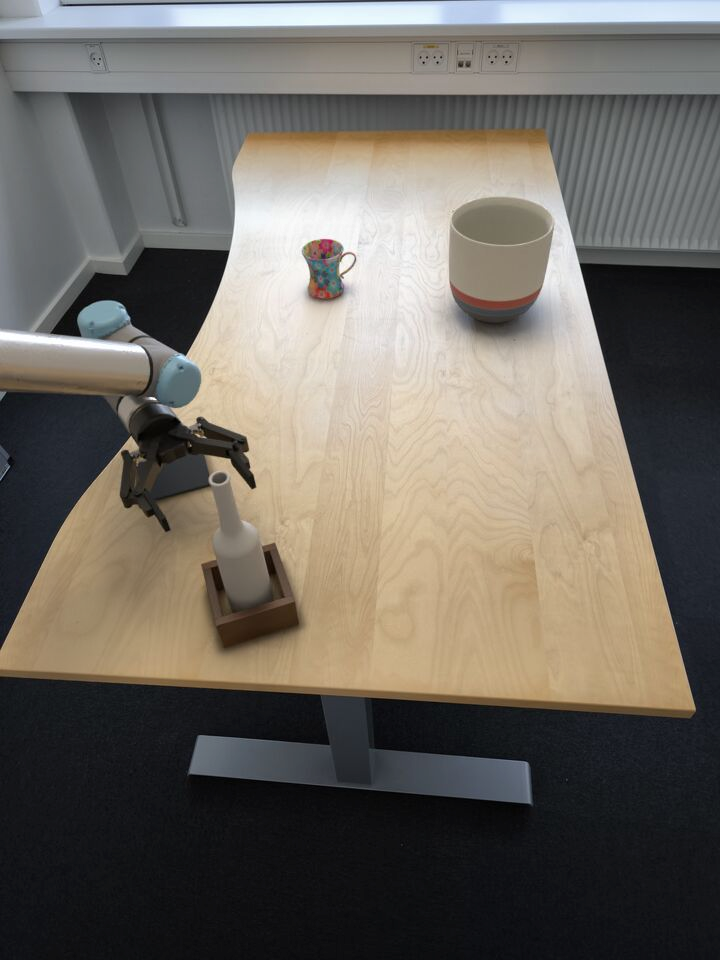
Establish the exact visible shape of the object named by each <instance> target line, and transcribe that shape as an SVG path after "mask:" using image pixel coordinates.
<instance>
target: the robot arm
mask: <svg viewBox="0 0 720 960" xmlns="http://www.w3.org/2000/svg"><path fill="white" fill-rule="evenodd" d="M77 326H78V328H79V329H78V330H79V332H80V335H81V336H74V335H65V334H54V333H46V332H37V331H30V330H29V331H28V330H22V329H21V330H19V329H12V328H3V327H0V393H23V394H25V393H26V394H53V395H55V394H56V395H80V396H102V398H103V399H104V400H105V401H106V402H107V403H108V404H109V406H110V407H111V409H112V410H113V411H114V413H115V415H116V416H117V417H118V419H119V420H120V422H121V423H122V425H123V426H124V428H125V429H126V430H127V432H128V434H129V435H130V436H131V438H132V439H133V441H134V442H135V444H136V446H137V447H138V449H136V450H133V451H131V452H130V451H129V450H128V449H123V450H122V451H120V456H121V458H122V460H123V464H122V472H121V481H120V487H119V498H120V500H121V502H122V505H123V507H124V508H125V509H131V508H132V507H133V506H135V505H137V506H138V508H139V510H141V511H142V513H143V514H144V516H145V517H147V518H148V519H150V518H151V517H153V516H154V517H155V518H156V520H157V522H158V524H160V526H161V528H162V529H163V531H164V533H168V532H171V527H170V525H169V521H168V519H167V517H166V515H165V514H164V512H163V510H162V509H161V508H160V506H159V504H158V503H157V502H156V500H154V499H153V497H152V496H151V494H150V491H151V489H152V487H153V484H154V482H155V479H156V477H157V474H158V473H160V471H161V469H162V466H163V464H166V463H167V464H170V463H172V462H173V461H175V460H176V459H179V458H183V457H185V456H186V454H191V455H198V454H203V455H204V456H210V457H216V458H222V459H228V460H230V464H231V466H232V467H233V468H234V469H235V471H236V472H237V473H238V474H239V476H240V477H241V478H242V479H243V481H244V482H245V483H246V484H247V486H248V487H249V488H250V490H254V489H256V488H257V484H256V480H255V479H256V478H255V474H254V473H253V472H252V470H251V463H250V459H249V457H248V456H247V455H246V453H248V452H249V451H250V447H249V442H248V437H247V436H246V435H244V434H241V433H238V432H235V431H232V430H230V429H228V428H224V427H223V426H219V425H217V424H214V423H212V422H209V421H208V420H207V419H206V418H205V417H204V416H198V417H196V418H195V420H196V423H194V424H192V425H190V426H188V425H185V424H184V423H183V422H182V421H181V419H180V418H179V417H178V415H176V412H174V411H173V409H180V408H183V407H186V406H187V405H189V404H190V403H191V402H192V401H193V400H194V399H195V398H196V397H197V395H198V393H199V391H200V387H201V384H202V373H201V369H200V368H199V366H198V365H197V364H196V363H195V362H193V361H192V360H191V359H189V358H188V357H187V356H186V355H184V354H183V353H181V352H178V351H176V350H174V349H173V348H171V347H169V346H167V345H165V344H164V343H162V342H161V341H158V340H156V339H155V338H153V337H152V336H150V335H149V334H147V333H145V332H144V331H142V330H140V329H138V328H136V327H135V326H134V325H132V322H131V317H130V316H129V314H128V311H127V309H126V307H125V306H124V305H123V304H122V303H120V302H118V301H116V300H100V301H96V302H93V303H91V304H89V305H88V306H86V307H83V309H82V310H81V311H80V312H79V313H78V316H77ZM198 435H199V436H198ZM140 459H143V460H144V461H146V463H145V465H144V468H143V470H142V472H141V475H140V477H138V478H137V466H138V463H139V462H140ZM136 478H137V482H136Z"/></svg>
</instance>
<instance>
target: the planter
mask: <svg viewBox="0 0 720 960" xmlns="http://www.w3.org/2000/svg"><path fill="white" fill-rule="evenodd" d="M555 222H556V221H555V218H554V216H553V214H552V213H551V212H550V210H549V209H548V208H546V207H544V206H543V205H541V204H540V203H537V202H535V201H532V200H530V199H526V198H521V197H515V196H503V195H499V196H498V195H497V196H485V197H479V198H475V199H471V200H469V201H466V202H464V203H462V204H461V205H459V206H458V207H456V208H455V209H454V210H453V212H452V213H451V215H450V218H449V237H448V238H449V239H448V281H449V286H450V291H451V295H452V297H453V300H454V302H455V303H456V304H457V306H458V307H459V308H460V309H461V310H462V311H463V312H464V313H465V314H466V315H468V316H470V317H471V318H473V319H476V320H478V321H480V322H485V323H492V324H493V323H504V322H508V321H513V320H514V319H516V318H518V317H520V316H522V315H524V314H525V313H526V312H527V311H529V310H530V309H531V308H532V307H533V306H534V304H535V303H536V301H537V299H538V298H539V296H540V293H541V291H542V289H543V285H544V282H545V278H546V275H547V274H546V273H547V268H548V264H549V259H550V254H551V250H552V249H551V248H552V242H553V235H554V230H555Z"/></svg>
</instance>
